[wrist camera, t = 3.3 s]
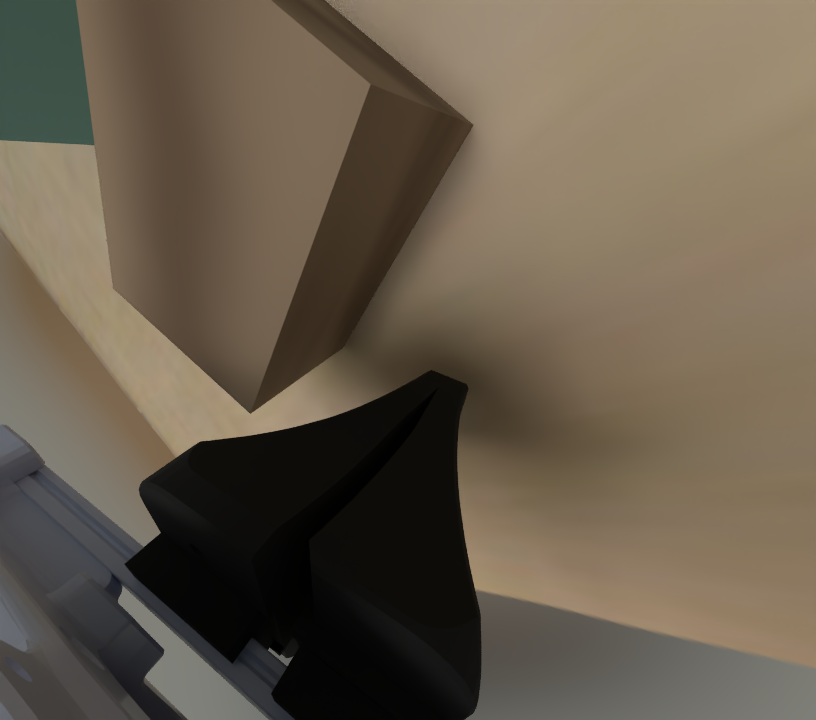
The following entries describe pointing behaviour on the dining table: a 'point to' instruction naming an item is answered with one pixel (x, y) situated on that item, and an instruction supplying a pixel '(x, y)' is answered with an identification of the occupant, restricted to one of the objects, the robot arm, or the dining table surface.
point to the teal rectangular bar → (43, 73)
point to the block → (255, 175)
